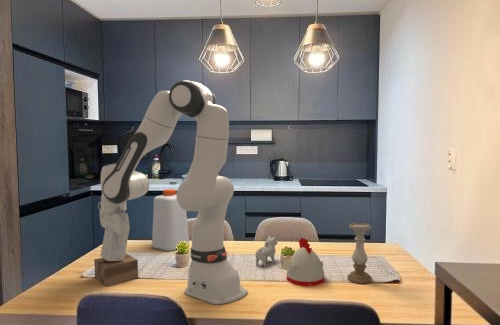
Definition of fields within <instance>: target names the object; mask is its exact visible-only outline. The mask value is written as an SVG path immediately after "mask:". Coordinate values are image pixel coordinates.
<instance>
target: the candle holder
mask: <svg viewBox="0 0 500 325" xmlns="http://www.w3.org/2000/svg"><path fill="white" fill-rule="evenodd" d="M348 226H349V228H350V229H351V230H353V232H354V233H355V237H354V241H355V248H354V251H353V254H352V256H351V257H352V258H351V259H352V261H353V265H352V267H353V268H354V270H353V271H351V272H350V273H349V274H347V280H348V281H349V282H350V283H354V284H359V285H366V284H370V283H372V282H373V277H372V275H370V274H369V273H368V272H366V269H367V267H368V266H367V265H366V264H367V262H368V259H369V258H368V255H367V253H366V251H365V250H366V249H365V245H364V244H365V241H366V238H365V233H366V232H367V231H369V230H371V228H372V226H371V225H370V224H368V223H363V222H362V223H361V222H353V223H350V224H349V225H348Z"/></svg>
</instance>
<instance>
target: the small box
mask: <svg viewBox="0 0 500 325" xmlns="http://www.w3.org/2000/svg"><path fill="white" fill-rule="evenodd" d="M129 228H131V227H130V225H129ZM128 239H129V234H126V235H124V239H123V245H120V246H119V245H117V240H118V236H117V234H116V233H114V228H113V227H112V226H110V225H108V224H106V228H104V234H103V239H102V246H101V251H100V255H99V257H100V258H104V259H106V260H107V261H124V258H125V253H126V252H127V245H128V241H129V240H128Z"/></svg>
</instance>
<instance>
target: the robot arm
mask: <svg viewBox="0 0 500 325" xmlns="http://www.w3.org/2000/svg"><path fill="white" fill-rule="evenodd" d="M182 115H185V116H187V117H189V118H194V119H195V121H196V126H197V127H196V135H195V144H194V145H195V146H194V154H193V158H192V161H191V164H190V167H189V170H188V173H187V175H186V177H185V178H184V180H183V181H182V183H180V184H179V186H178V187H177V190H176V198H177V202H178V204H179V205H180V207H181V208H182V209H184V210H186V212H187V211H188V212H198V213H197V215H196V218H195V219H194V221H193V222H192V225H191V248H190V259H191V262H190V264H189V266H188V270H187V284H186V286H187V287H186V288H185V289H184V294H185V295H187V296H191V297H193V298H195V299H198V300H202V301H203V302H206V303H210V304H213V305H223V304H228V303H232V302H234V301H237V300H239V299H242V298H244V297H245V296H247V294H248V293H249V292H248V289H247V288H245V287H244V286H242V285H241V279H240V275H239V271H238V269H235V268H234V267H233V265H232V264H231V262H230V261H229V260H228V256H229V254H228V253H229V252H228V251H226V247H225V245H224V225H225V224H224V223H225V220H226V219H225V218H226V215H227V211H228V210H227V209H228V206H229V204H230V201H231V200H232V198H233V195H234V192H235V186H234V184H233V182H232V180H230V178H228V177H227V176H222V175H219V173H220V172H221V169H223V167H224V165H225V163H226V161H227V156H228V155H227V154H228V147H229V135H230V118H229V117H230V116H229V112H228V110H227V109H226V108H225V107H223V106H222V105H219V104H216V96H215V94H214V92H213V91H212V90H211V89H210V87H208V86H205V85H203V84H202V83H199V82H196V81H191V80H180V81H177V82H176V83H174V84H173V85H172V86H171V88H170V90H161V91H159V92H157V93H156V94H155V96H154V97H153V99H152V100H151V102H150V104H149V106H148V108H147V109H146V112H145V115H144V117H143V119H142V120H141V123H140V124H139V126H138V128H137V130H136V131H135V132H134V134H132V136H131V138H130V139H129V140H128V142H127V144H126V145H125V147H124V149H123V150H122V153H121V155H120V156H119V158H118V160H117V162H114V163H108V164H105V165H104V166H102V168H101V172H100V191H101V198H100V202H99V203H97V204H98V205H97V208H98V210H99V221H100V225H101V227H102V228H104V229H105V228H106V224H108V225H110V226H112V227H113V228H114V233H116V234H117V236H118V240H117V245H119V246H120V245H123V239H124V235H126V234H128V235H130V234H129V233H130V228H131V227H130V228H129V226H130V221H129V218H130V217H129V215H128V213H127V212H125V211H126V210H127V201H130V200H131V201H132V200H134V199H137V198H141V197H143V196H145V195H146V194H147V193H148V192H149V190H150V180H149V179H148V177H147V176H146V175H145V174H144V173H143V172H140V171H136V168H137V167H138V164H139V163H140V161H141V160H142V158H143V157H144V156H145V155H147V153H149V152H151V151H153V150H155V149H157V148H159V147H161V146H163V145H166V143H167V142H168V140H169V139H170V138H171V137H172V134H173V132H174V130H175V128H176V126H177V123H178V120H179V119H180V117H181V116H182Z"/></svg>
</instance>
